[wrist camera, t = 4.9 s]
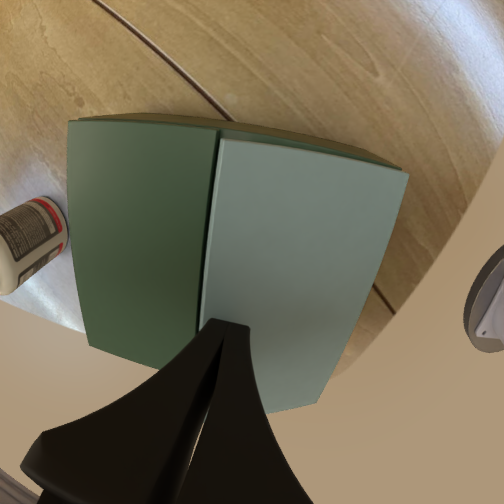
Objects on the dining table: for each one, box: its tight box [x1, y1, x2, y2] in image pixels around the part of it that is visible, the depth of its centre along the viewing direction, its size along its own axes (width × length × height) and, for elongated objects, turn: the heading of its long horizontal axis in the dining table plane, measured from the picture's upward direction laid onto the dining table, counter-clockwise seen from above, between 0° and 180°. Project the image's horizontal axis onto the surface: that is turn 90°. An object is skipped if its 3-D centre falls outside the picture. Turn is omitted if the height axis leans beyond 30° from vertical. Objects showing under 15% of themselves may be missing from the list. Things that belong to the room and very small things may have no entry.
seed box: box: [67, 113, 402, 370], centre depth 16 cm, size 14×13×7 cm
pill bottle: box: [0, 197, 67, 295], centre depth 17 cm, size 5×5×10 cm
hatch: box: [199, 138, 409, 423], centre depth 12 cm, size 7×13×1 cm, turn 171°
